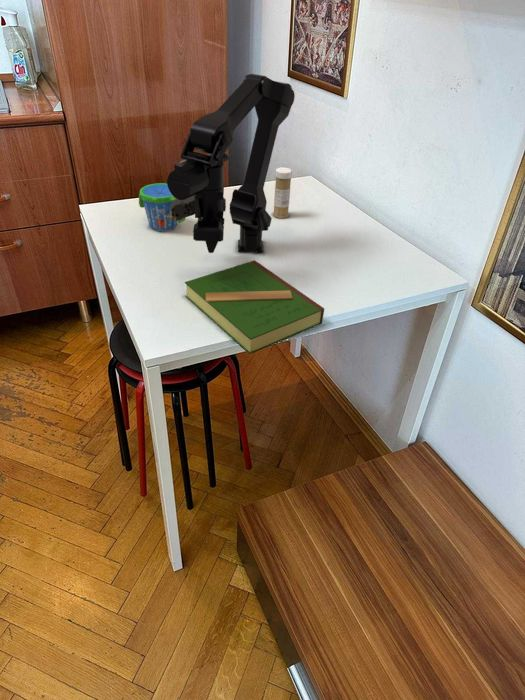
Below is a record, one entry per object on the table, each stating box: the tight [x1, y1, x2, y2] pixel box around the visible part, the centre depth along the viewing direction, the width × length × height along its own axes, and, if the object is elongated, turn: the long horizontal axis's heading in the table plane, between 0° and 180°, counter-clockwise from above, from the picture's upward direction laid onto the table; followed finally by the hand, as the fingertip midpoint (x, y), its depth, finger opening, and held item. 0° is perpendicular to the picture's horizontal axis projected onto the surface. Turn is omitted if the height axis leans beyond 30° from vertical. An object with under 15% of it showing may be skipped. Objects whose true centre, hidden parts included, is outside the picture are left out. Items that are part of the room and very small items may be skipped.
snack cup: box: [138, 182, 186, 232], centre depth 136 cm, size 16×10×10 cm
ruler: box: [205, 291, 293, 302], centre depth 105 cm, size 3×18×1 cm, turn 97°
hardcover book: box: [184, 259, 325, 355], centre depth 108 cm, size 25×19×4 cm
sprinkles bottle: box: [272, 166, 293, 219], centre depth 144 cm, size 5×5×13 cm
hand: (211, 252), depth 117 cm, fingers closed
